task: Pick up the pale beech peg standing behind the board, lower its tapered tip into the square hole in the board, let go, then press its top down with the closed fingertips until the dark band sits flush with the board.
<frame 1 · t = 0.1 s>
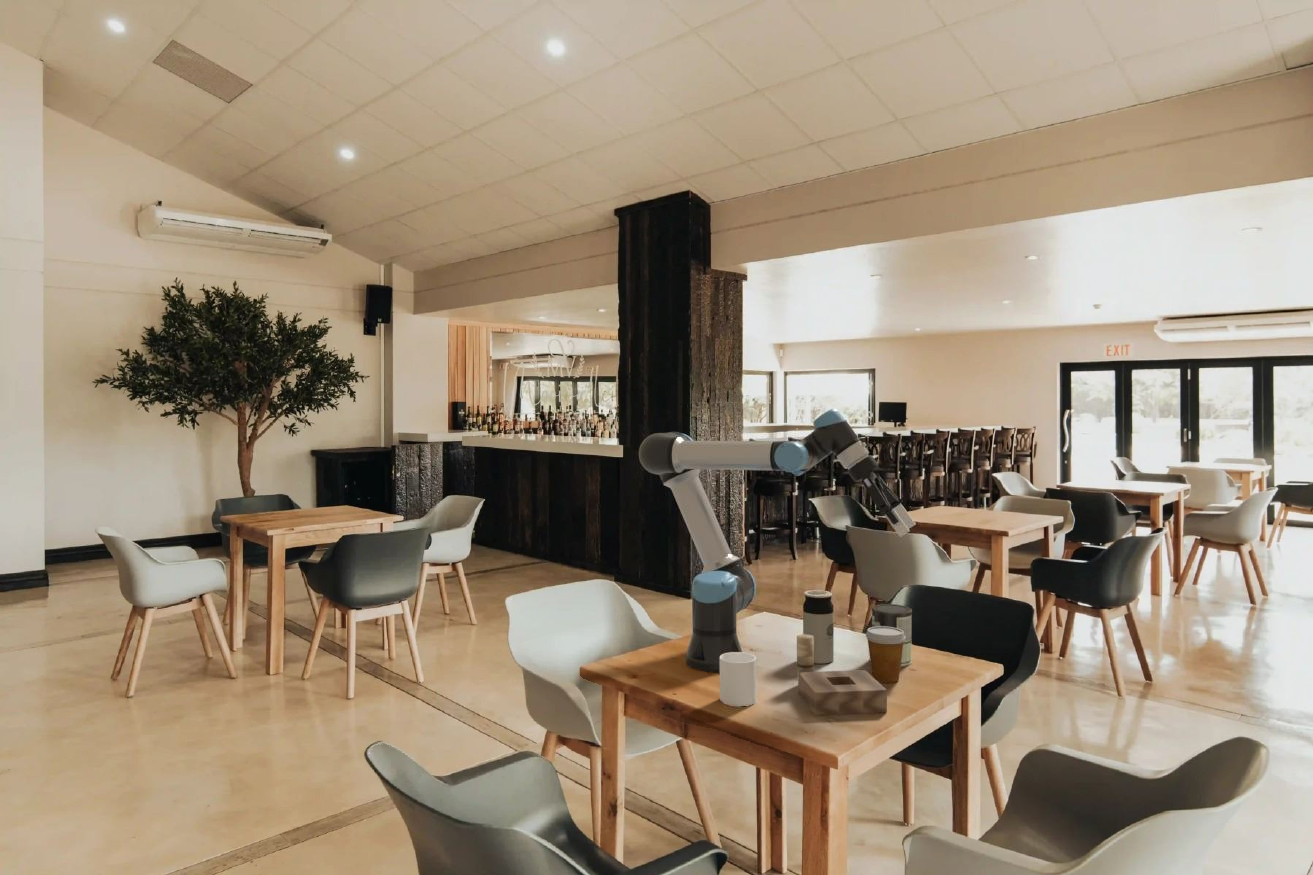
hand: (908, 530, 202), 36 cm above the table, tool tilted 35°, fingers open, 13 cm apart
disposable coffee cup: (885, 679, 197), on the table
cup: (741, 699, 184), on the table
peg: (805, 685, 192), on the table
board: (841, 702, 181), on the table
coffee can: (891, 661, 211), on the table
travel mug: (818, 660, 213), on the table
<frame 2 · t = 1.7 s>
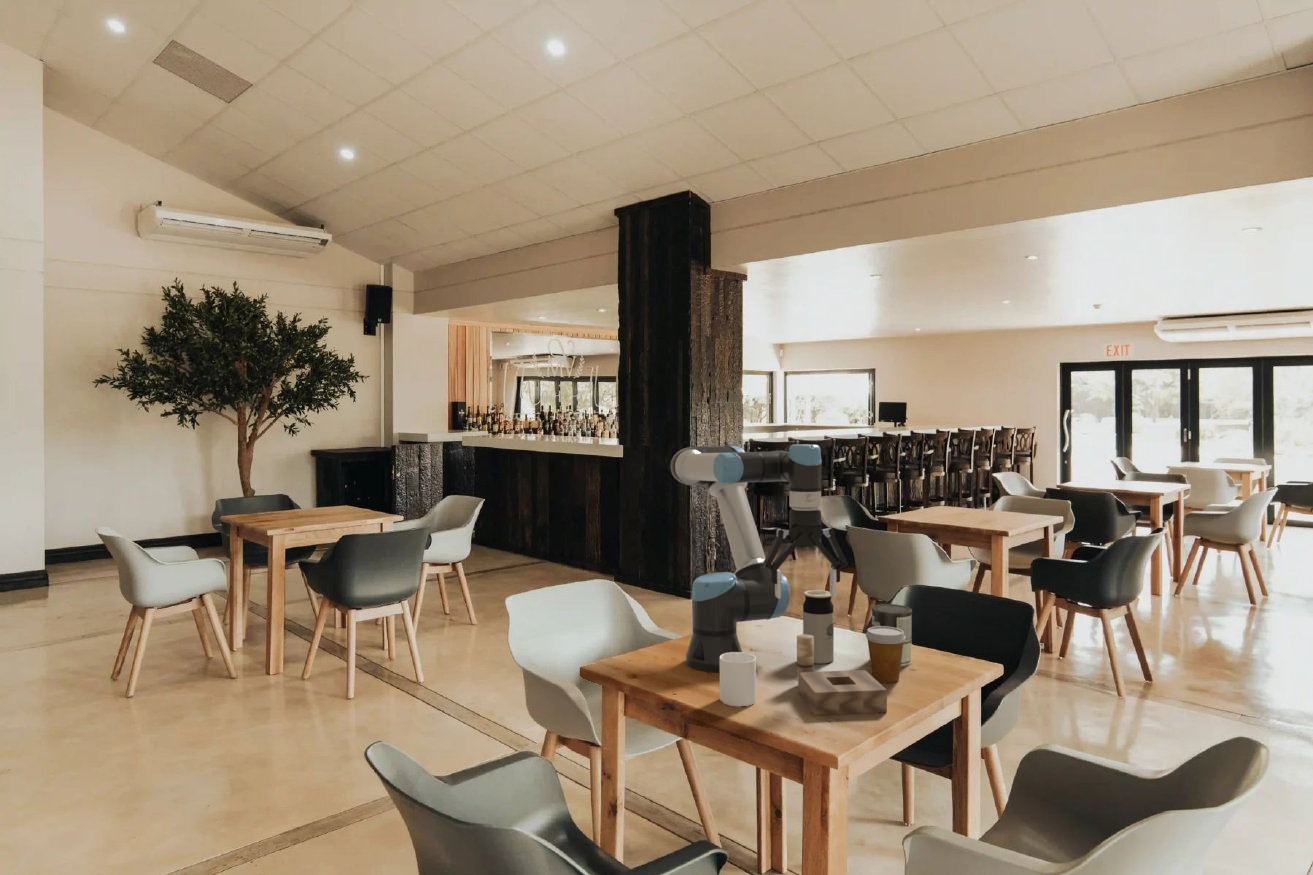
hand: (805, 596, 192), 22 cm above the table, tool pointing down, fingers open, 13 cm apart
nothing on the table moved.
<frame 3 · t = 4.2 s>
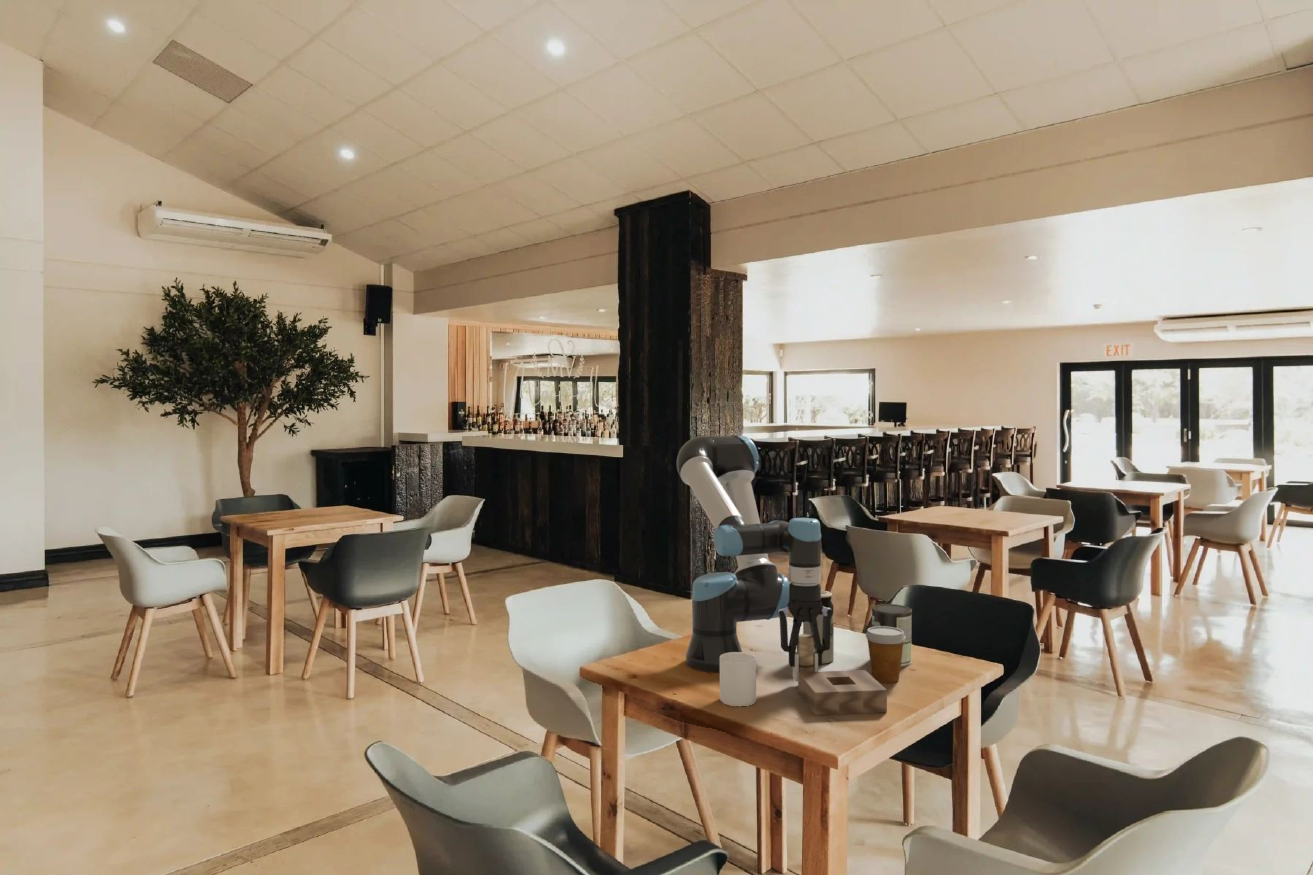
hand: (805, 679, 192), 2 cm above the table, tool pointing down, fingers closed on peg, 4 cm apart
peg: (805, 685, 192), on the table, touching gripper
everything else where it was.
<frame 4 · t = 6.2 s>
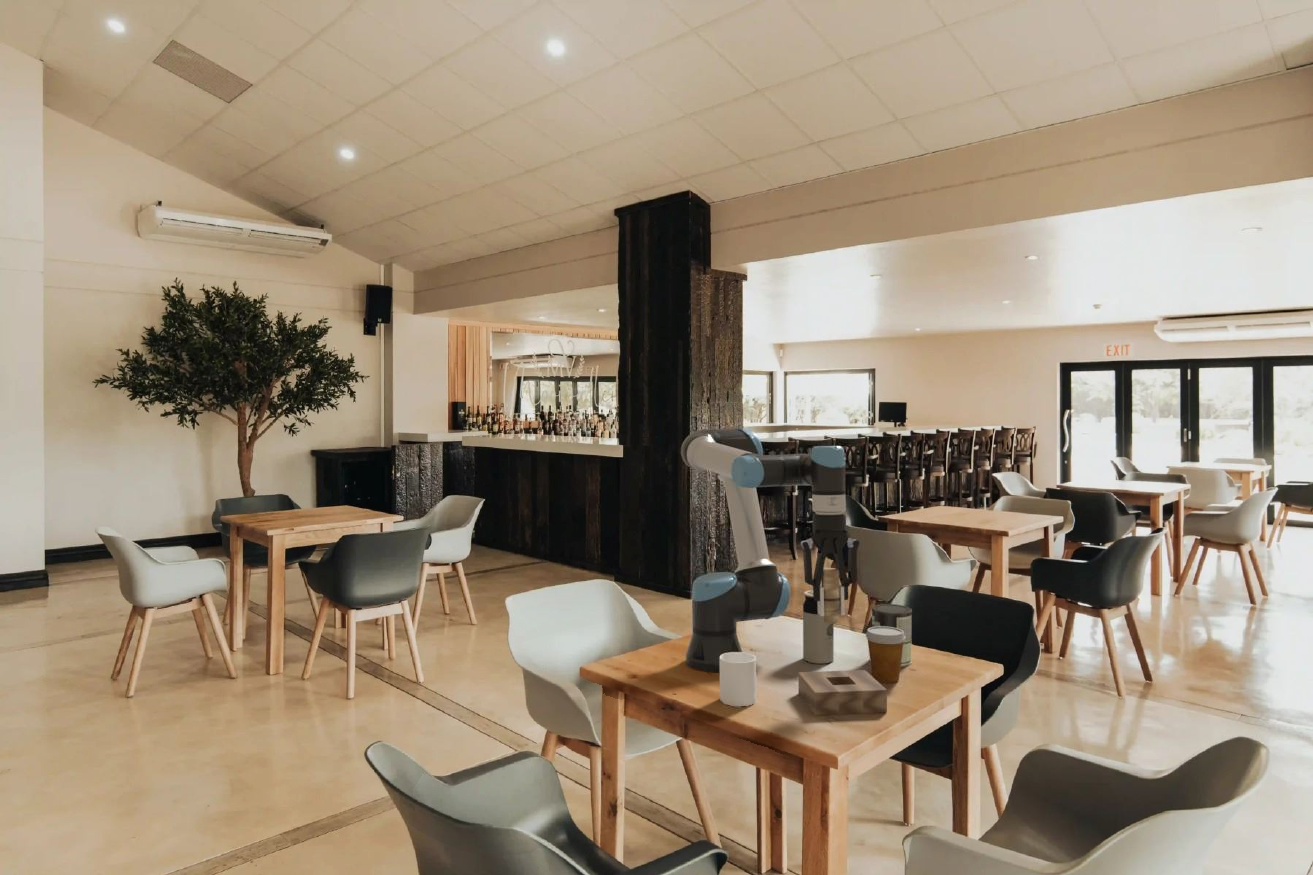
hand: (831, 614, 183), 19 cm above the table, tool pointing down, fingers closed on peg, 4 cm apart
peg: (831, 621, 183), point 18 cm above the table, touching gripper
everything else where it was.
when the fingers open (6 cm above the table, at t = 8.3 s): peg drops 4 cm, resting in board.
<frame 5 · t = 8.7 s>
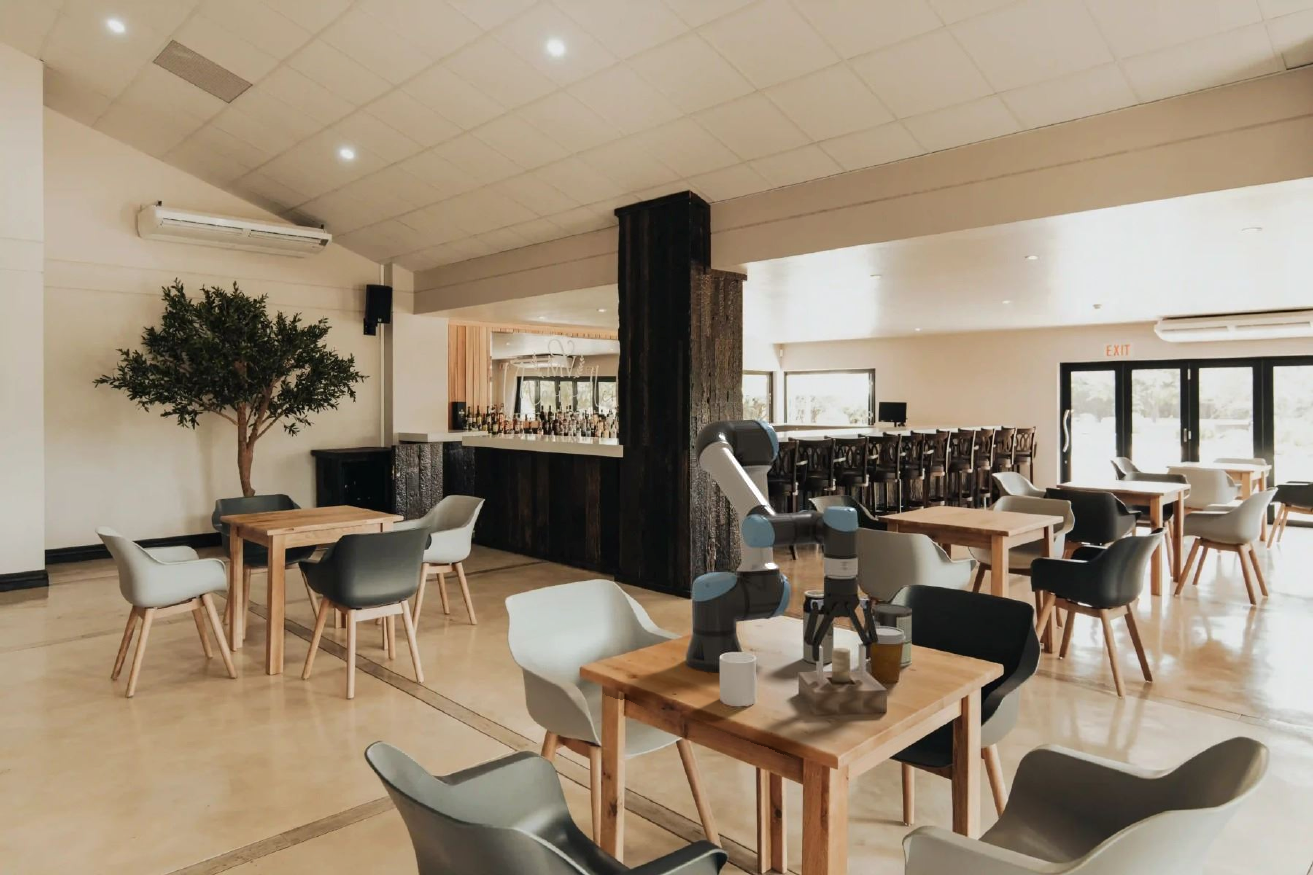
hand: (841, 674, 180), 7 cm above the table, tool pointing down, fingers open, 9 cm apart
peg: (841, 702, 181), resting in board
everything else where it was.
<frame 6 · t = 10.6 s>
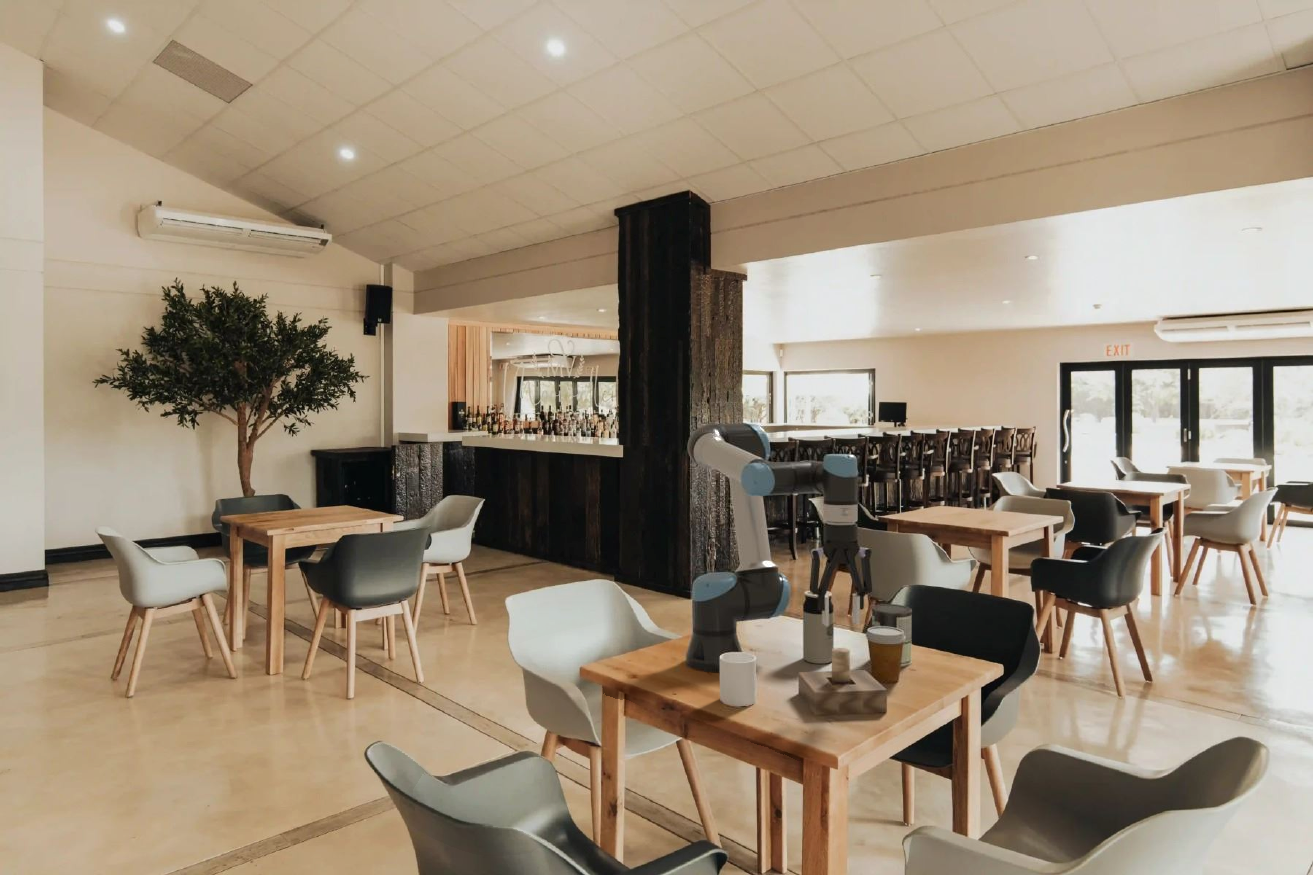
hand: (840, 623, 180), 18 cm above the table, tool pointing down, fingers open, 6 cm apart
nothing on the table moved.
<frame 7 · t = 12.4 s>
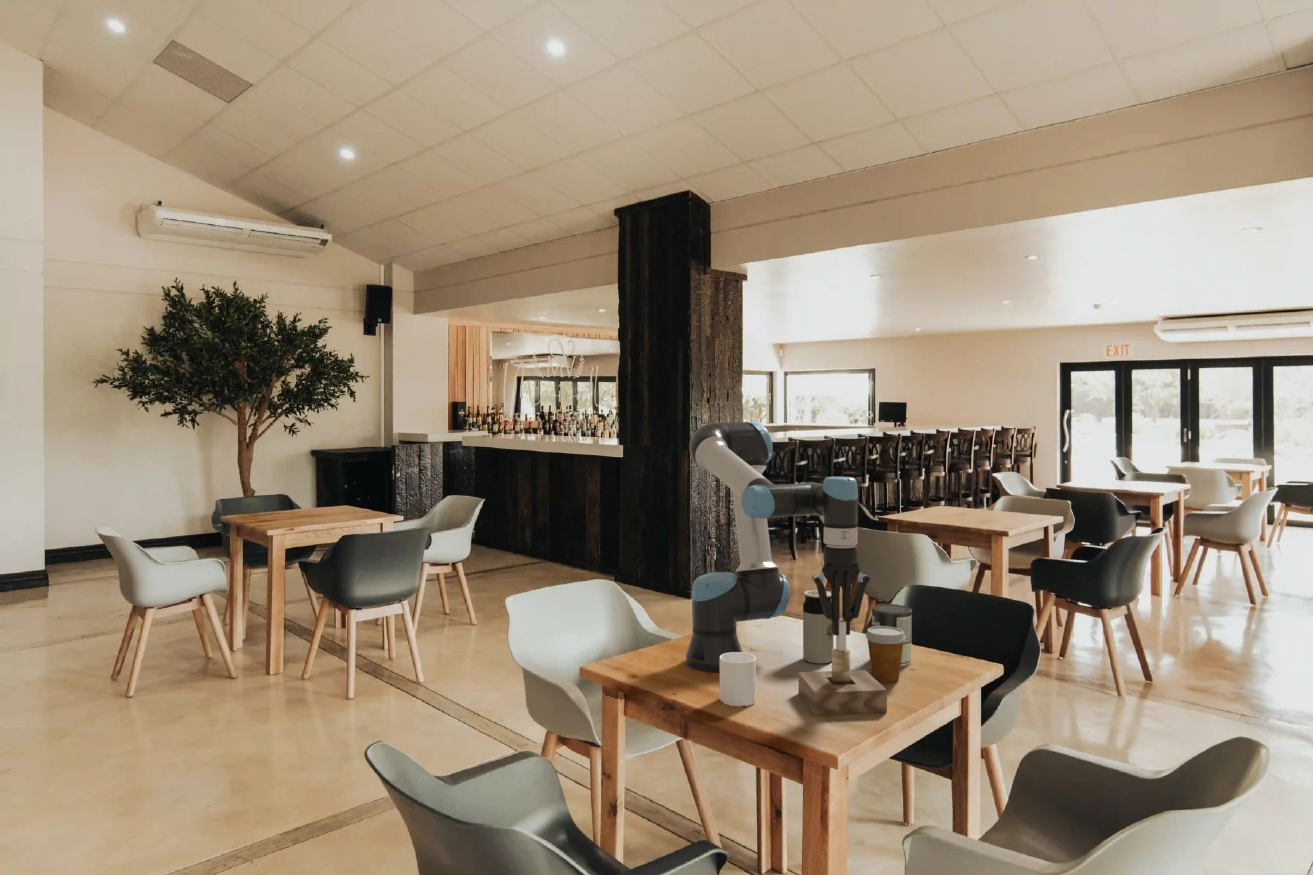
hand: (841, 649, 180), 12 cm above the table, tool pointing down, fingers closed
peg: (841, 702, 181), resting in board, touching gripper
everything else where it was.
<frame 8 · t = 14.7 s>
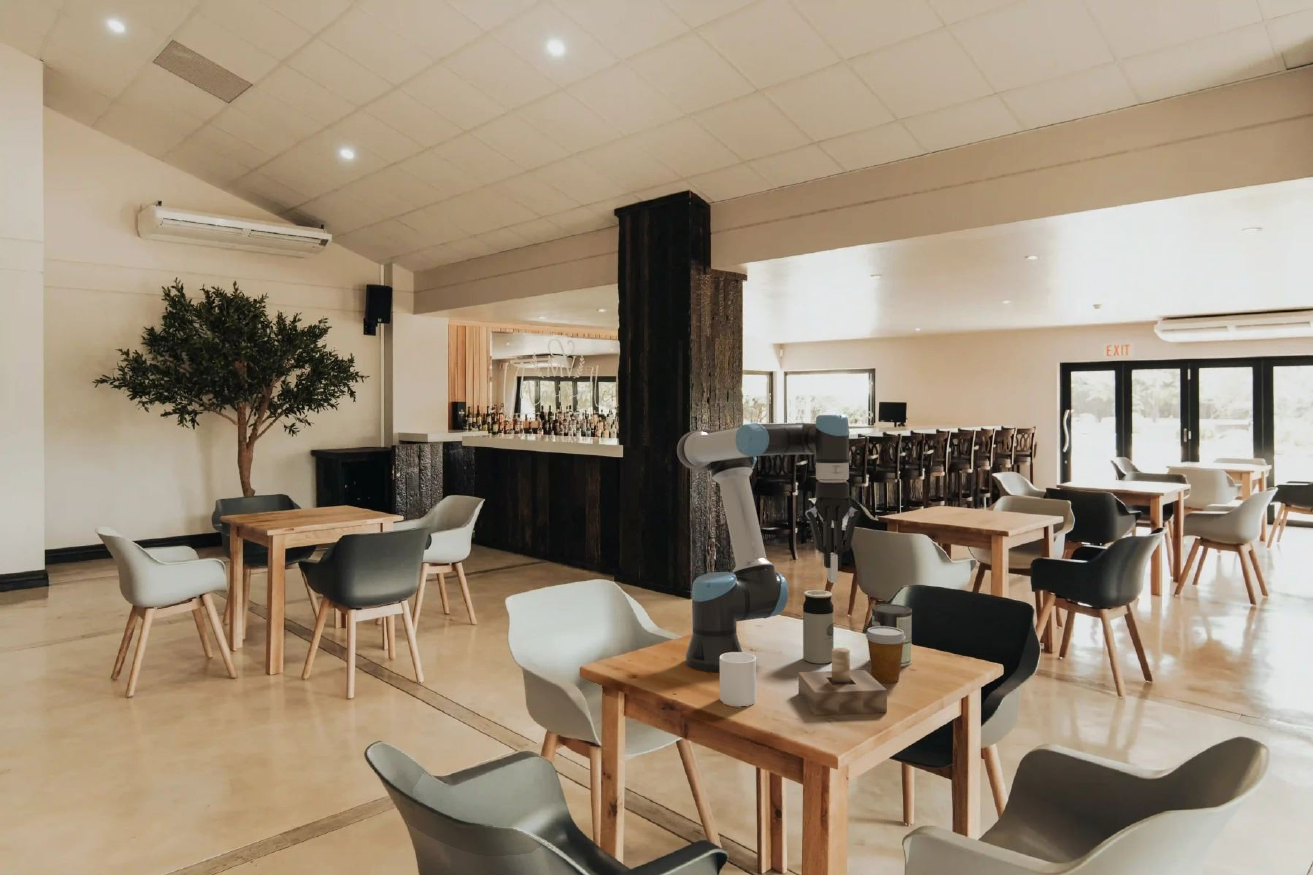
hand: (832, 581, 186), 26 cm above the table, tool pointing down, fingers closed
peg: (841, 702, 181), resting in board
everything else where it was.
at the end: peg 0.0 cm off-centre on the board, point 0.0 cm above the board's base; peg tilted 0°; the gripper is holding nothing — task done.
